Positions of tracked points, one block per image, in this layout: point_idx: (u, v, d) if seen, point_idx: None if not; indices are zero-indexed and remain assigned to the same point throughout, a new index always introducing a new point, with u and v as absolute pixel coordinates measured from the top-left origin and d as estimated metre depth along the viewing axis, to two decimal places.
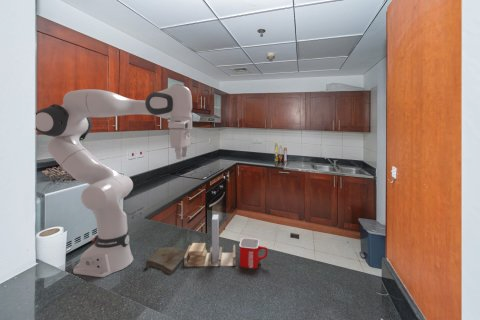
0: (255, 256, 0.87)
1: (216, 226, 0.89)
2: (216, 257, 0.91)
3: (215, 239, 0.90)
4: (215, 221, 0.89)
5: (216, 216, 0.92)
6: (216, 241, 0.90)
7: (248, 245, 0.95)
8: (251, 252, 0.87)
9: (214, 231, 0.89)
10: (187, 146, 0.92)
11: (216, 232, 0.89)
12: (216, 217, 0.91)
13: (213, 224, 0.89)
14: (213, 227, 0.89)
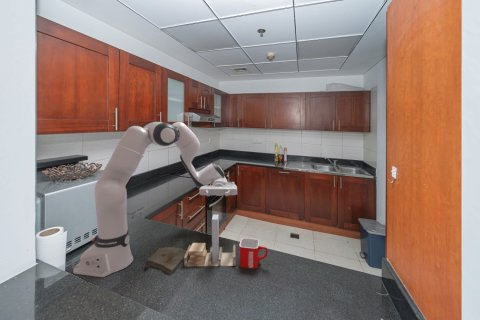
0: (255, 256, 0.87)
1: (216, 226, 0.89)
2: (216, 257, 0.91)
3: (215, 239, 0.90)
4: (215, 221, 0.89)
5: (216, 216, 0.92)
6: (216, 241, 0.90)
7: (248, 245, 0.95)
8: (251, 252, 0.87)
9: (214, 231, 0.89)
10: None
11: (216, 232, 0.89)
12: (216, 217, 0.91)
13: (213, 224, 0.89)
14: (213, 227, 0.89)
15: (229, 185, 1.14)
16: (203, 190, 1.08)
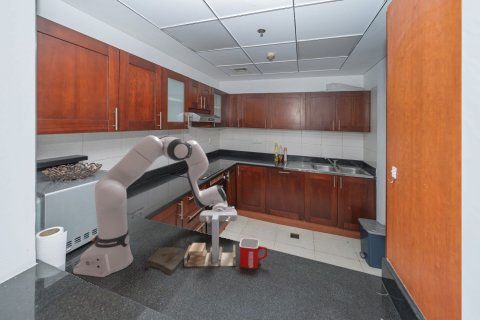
0: (255, 256, 0.87)
1: (216, 226, 0.89)
2: (216, 257, 0.91)
3: (215, 239, 0.90)
4: (215, 221, 0.89)
5: (216, 216, 0.92)
6: (216, 241, 0.90)
7: (248, 245, 0.95)
8: (251, 252, 0.87)
9: (214, 231, 0.89)
10: None
11: (216, 232, 0.89)
12: (216, 217, 0.91)
13: (213, 224, 0.89)
14: (213, 227, 0.89)
15: (229, 210, 1.15)
16: (203, 216, 1.09)
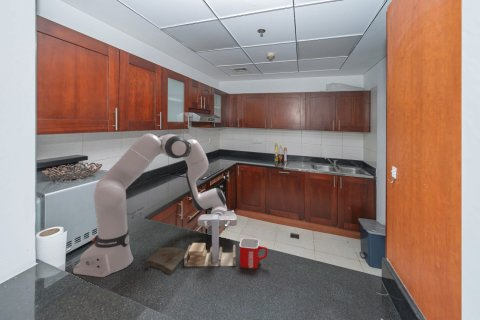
0: (255, 256, 0.87)
1: (216, 226, 0.89)
2: (216, 257, 0.91)
3: (215, 239, 0.90)
4: (215, 221, 0.89)
5: (216, 216, 0.92)
6: (216, 241, 0.90)
7: (248, 245, 0.95)
8: (251, 252, 0.87)
9: (214, 231, 0.89)
10: (209, 225, 1.05)
11: (216, 232, 0.89)
12: (216, 217, 0.91)
13: (213, 224, 0.89)
14: (213, 227, 0.89)
15: (228, 214, 1.10)
16: (201, 221, 1.04)
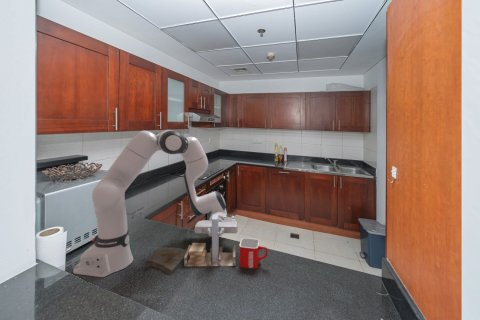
0: (255, 256, 0.87)
1: (216, 226, 0.89)
2: (216, 257, 0.91)
3: (215, 239, 0.90)
4: (215, 221, 0.89)
5: (216, 216, 0.92)
6: (216, 241, 0.90)
7: (248, 245, 0.95)
8: (251, 252, 0.87)
9: (214, 231, 0.89)
10: None
11: (216, 232, 0.89)
12: (216, 217, 0.91)
13: (213, 224, 0.89)
14: (213, 227, 0.89)
15: (228, 220, 1.02)
16: (199, 228, 0.96)
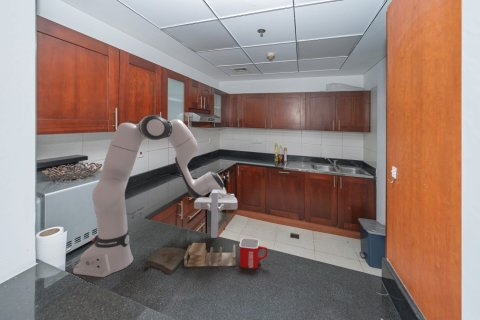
0: (255, 256, 0.87)
1: (216, 200, 0.88)
2: (215, 232, 0.89)
3: (214, 213, 0.88)
4: (215, 194, 0.87)
5: (216, 190, 0.91)
6: (215, 215, 0.88)
7: (248, 245, 0.95)
8: (251, 252, 0.87)
9: (214, 205, 0.88)
10: None
11: (216, 206, 0.88)
12: (216, 191, 0.89)
13: (213, 198, 0.88)
14: (213, 201, 0.88)
15: (228, 198, 1.00)
16: (198, 203, 0.94)
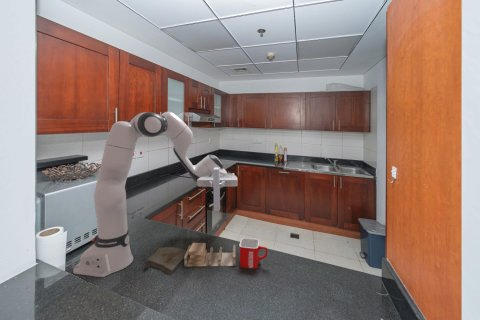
0: (255, 256, 0.87)
1: (217, 176, 0.94)
2: (217, 206, 0.96)
3: (216, 188, 0.95)
4: (216, 171, 0.94)
5: (217, 168, 0.97)
6: (217, 190, 0.95)
7: (248, 245, 0.95)
8: (251, 252, 0.87)
9: (215, 181, 0.95)
10: None
11: (217, 182, 0.95)
12: (217, 168, 0.96)
13: (214, 174, 0.94)
14: (214, 177, 0.94)
15: (229, 176, 1.07)
16: (201, 181, 1.01)
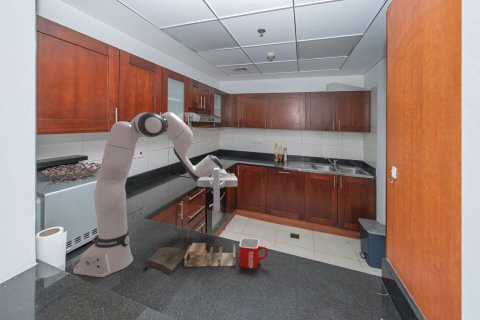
0: (255, 256, 0.87)
1: (217, 176, 0.95)
2: (217, 206, 0.96)
3: (216, 189, 0.95)
4: (216, 171, 0.94)
5: (217, 168, 0.97)
6: (217, 191, 0.95)
7: (248, 245, 0.95)
8: (251, 252, 0.87)
9: (215, 181, 0.95)
10: (209, 186, 1.02)
11: (217, 182, 0.95)
12: (217, 168, 0.96)
13: (214, 174, 0.94)
14: (214, 177, 0.95)
15: (229, 176, 1.07)
16: (201, 181, 1.01)
